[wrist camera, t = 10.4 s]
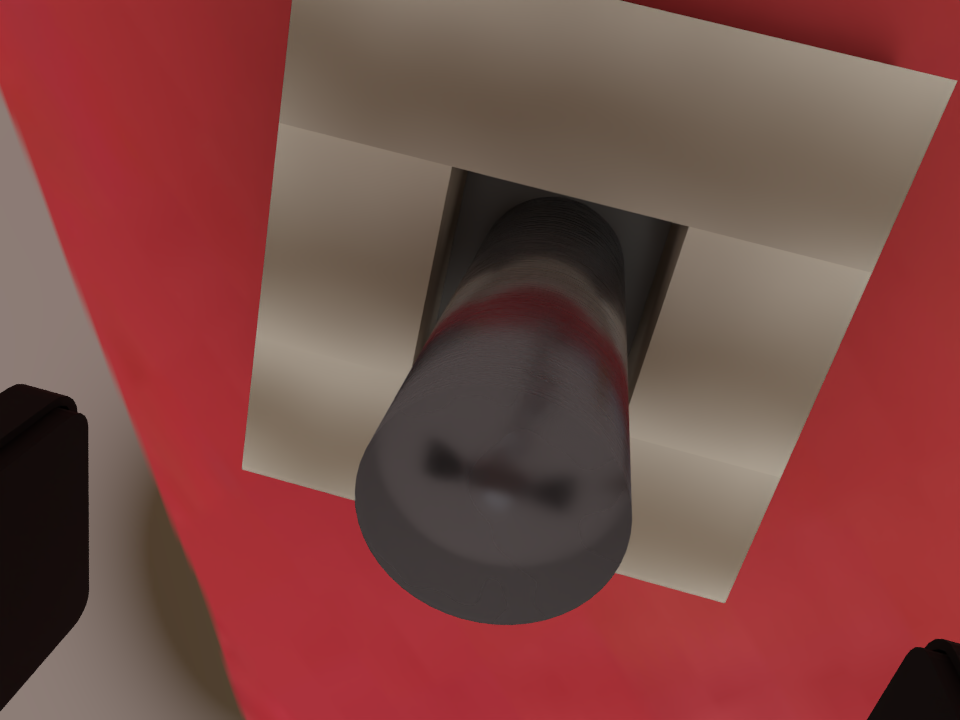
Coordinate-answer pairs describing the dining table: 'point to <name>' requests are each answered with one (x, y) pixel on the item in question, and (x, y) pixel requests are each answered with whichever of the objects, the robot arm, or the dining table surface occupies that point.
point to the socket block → (607, 190)
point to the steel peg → (512, 429)
